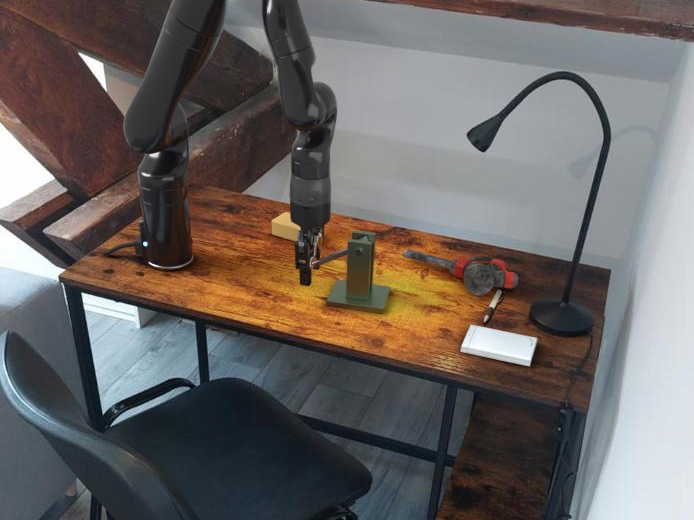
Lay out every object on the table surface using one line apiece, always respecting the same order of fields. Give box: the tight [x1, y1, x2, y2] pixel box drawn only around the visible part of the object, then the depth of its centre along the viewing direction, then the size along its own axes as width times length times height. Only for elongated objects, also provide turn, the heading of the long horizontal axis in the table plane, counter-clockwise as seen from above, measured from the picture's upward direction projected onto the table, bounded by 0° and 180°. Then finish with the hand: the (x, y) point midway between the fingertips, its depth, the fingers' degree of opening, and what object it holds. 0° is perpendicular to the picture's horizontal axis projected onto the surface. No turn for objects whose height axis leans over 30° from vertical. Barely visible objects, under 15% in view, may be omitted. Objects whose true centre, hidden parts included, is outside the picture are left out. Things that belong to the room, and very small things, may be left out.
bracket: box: [326, 229, 392, 315], centre depth 154 cm, size 11×9×13 cm
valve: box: [402, 249, 519, 296], centre depth 169 cm, size 6×26×15 cm
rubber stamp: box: [271, 191, 301, 242], centre depth 177 cm, size 10×6×12 cm, turn 61°
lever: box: [312, 236, 369, 271], centre depth 154 cm, size 14×6×2 cm
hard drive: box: [460, 324, 538, 367], centre depth 145 cm, size 2×8×12 cm
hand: (310, 276), depth 157 cm, fingers open, 6 cm apart
